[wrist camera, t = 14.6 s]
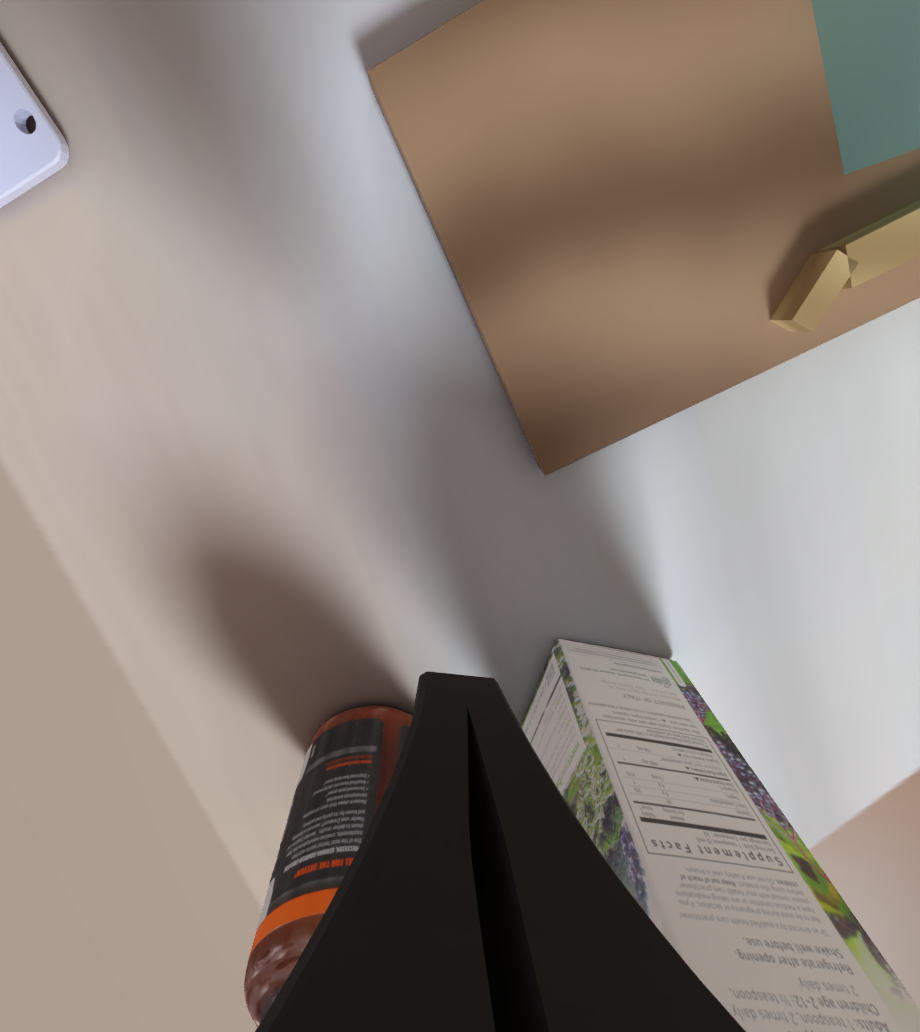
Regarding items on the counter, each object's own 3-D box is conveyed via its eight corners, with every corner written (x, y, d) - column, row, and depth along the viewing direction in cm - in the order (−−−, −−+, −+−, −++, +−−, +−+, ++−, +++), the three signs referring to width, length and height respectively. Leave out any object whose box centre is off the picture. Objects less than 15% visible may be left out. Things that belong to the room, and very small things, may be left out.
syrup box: (626, 751, 23) (900, 1352, 10) (510, 732, 22) (631, 1364, 9) (676, 656, 21) (1108, 1249, 8) (550, 632, 20) (786, 1251, 7)
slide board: (371, 89, 13) (352, 12, 10) (1065, -335, 11) (1334, -614, 8) (539, 467, 17) (563, 500, 14) (1058, 218, 15) (1228, 190, 12)
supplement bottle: (282, 750, 22) (143, 1146, 11) (371, 675, 20) (307, 1044, 10) (378, 811, 24) (336, 1201, 13) (466, 745, 22) (496, 1120, 12)
